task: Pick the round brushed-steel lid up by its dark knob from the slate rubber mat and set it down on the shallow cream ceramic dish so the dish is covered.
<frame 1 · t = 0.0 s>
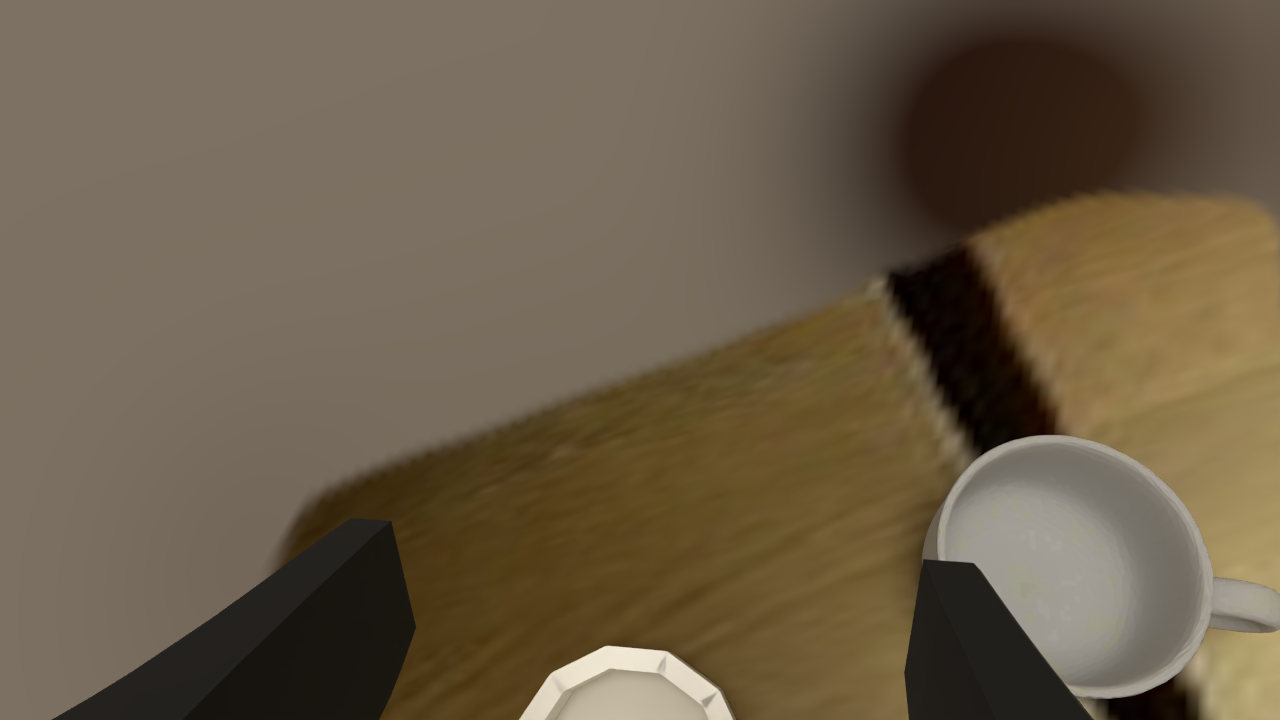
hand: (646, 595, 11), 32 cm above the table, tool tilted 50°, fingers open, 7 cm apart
teacup: (1047, 592, 40), on the table
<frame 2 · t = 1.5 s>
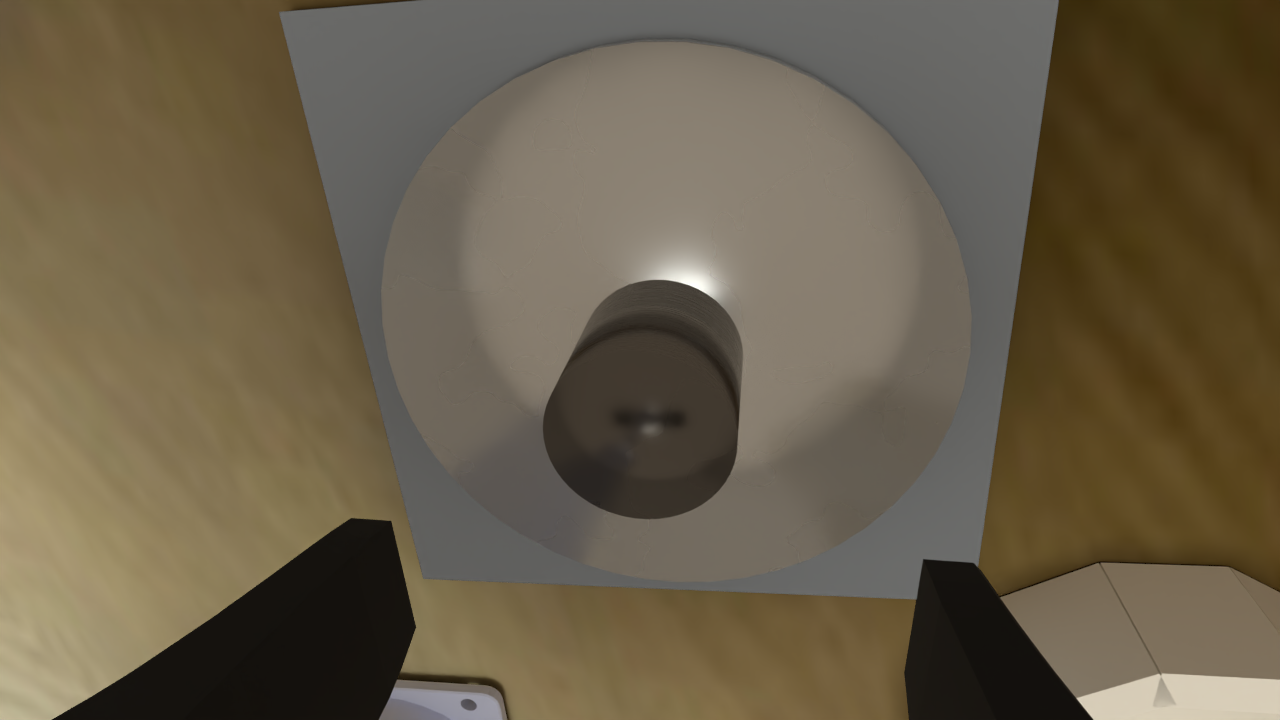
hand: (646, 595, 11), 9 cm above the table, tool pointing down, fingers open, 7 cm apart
slate mat: (668, 331, 19), on the table
steel lid: (665, 340, 18), resting on slate mat
cream dish: (1121, 718, 22), on the table
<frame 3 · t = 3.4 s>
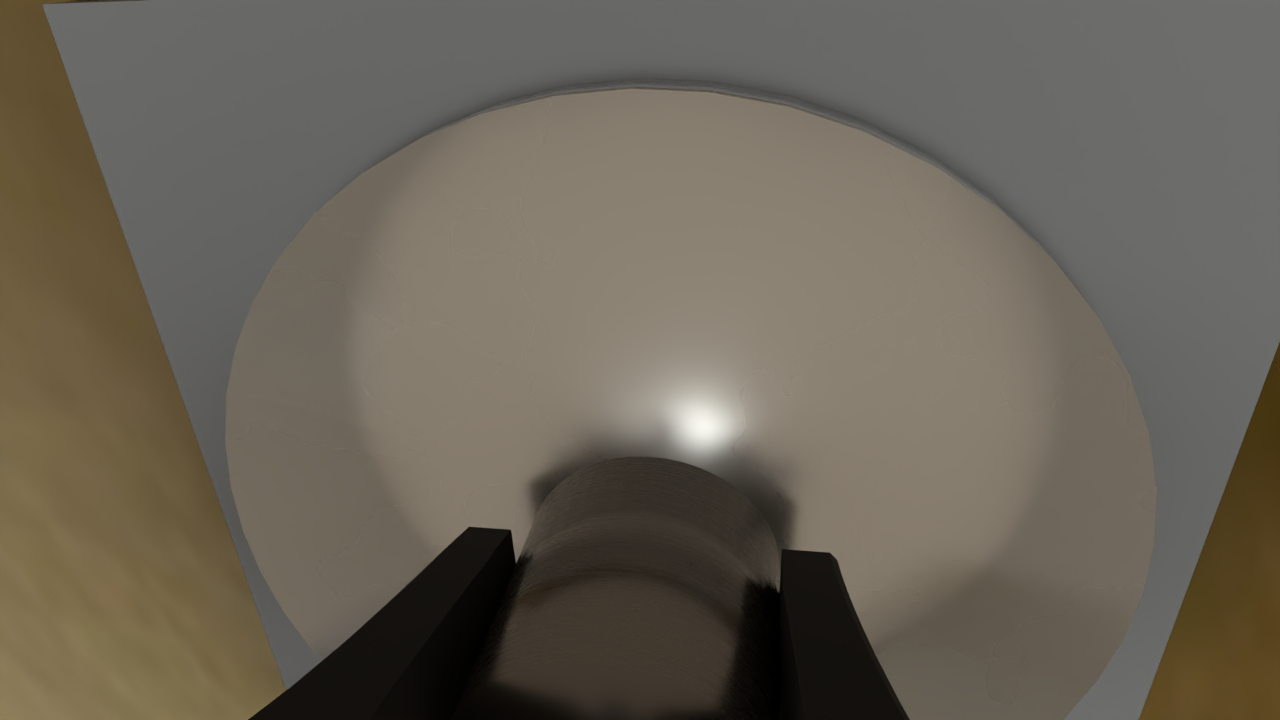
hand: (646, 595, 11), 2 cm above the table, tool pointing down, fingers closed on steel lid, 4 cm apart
slate mat: (664, 504, 13), on the table
steel lid: (660, 524, 12), resting on slate mat, touching gripper
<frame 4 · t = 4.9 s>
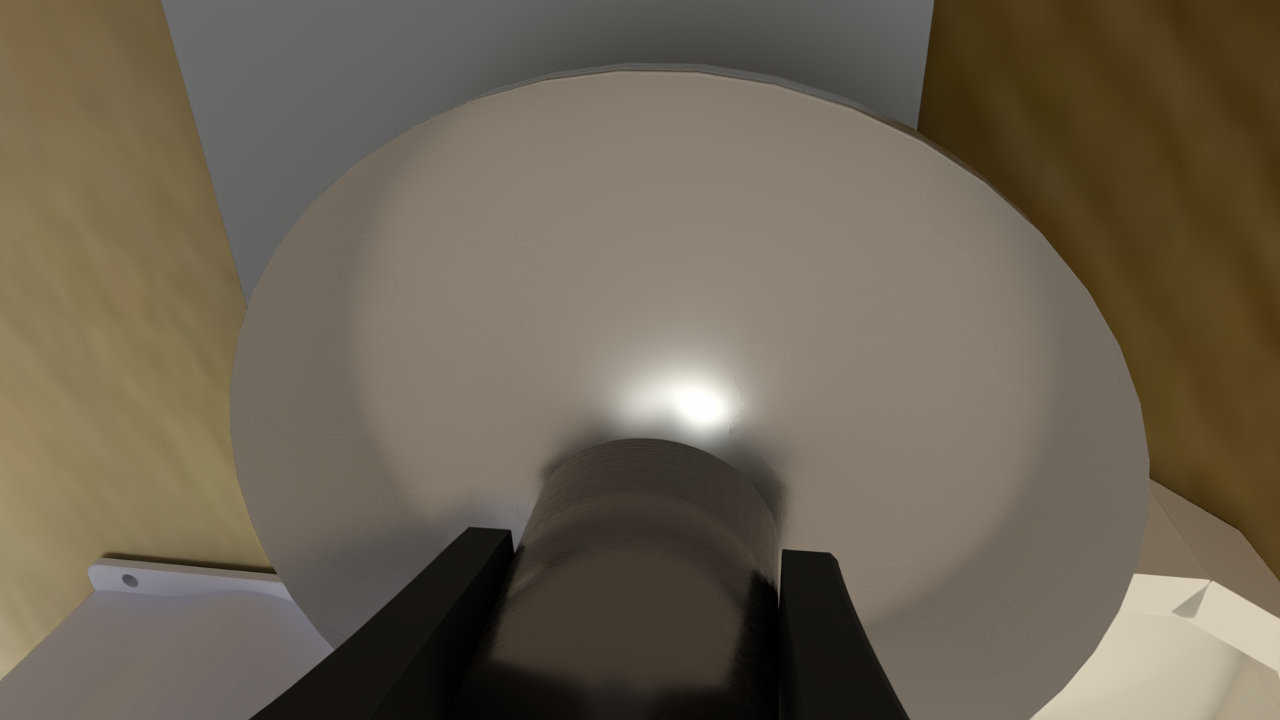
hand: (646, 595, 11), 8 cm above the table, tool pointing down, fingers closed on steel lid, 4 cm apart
slate mat: (543, 181, 17), on the table
steel lid: (660, 505, 12), point 7 cm above the table, touching gripper
cream dish: (1022, 638, 21), on the table
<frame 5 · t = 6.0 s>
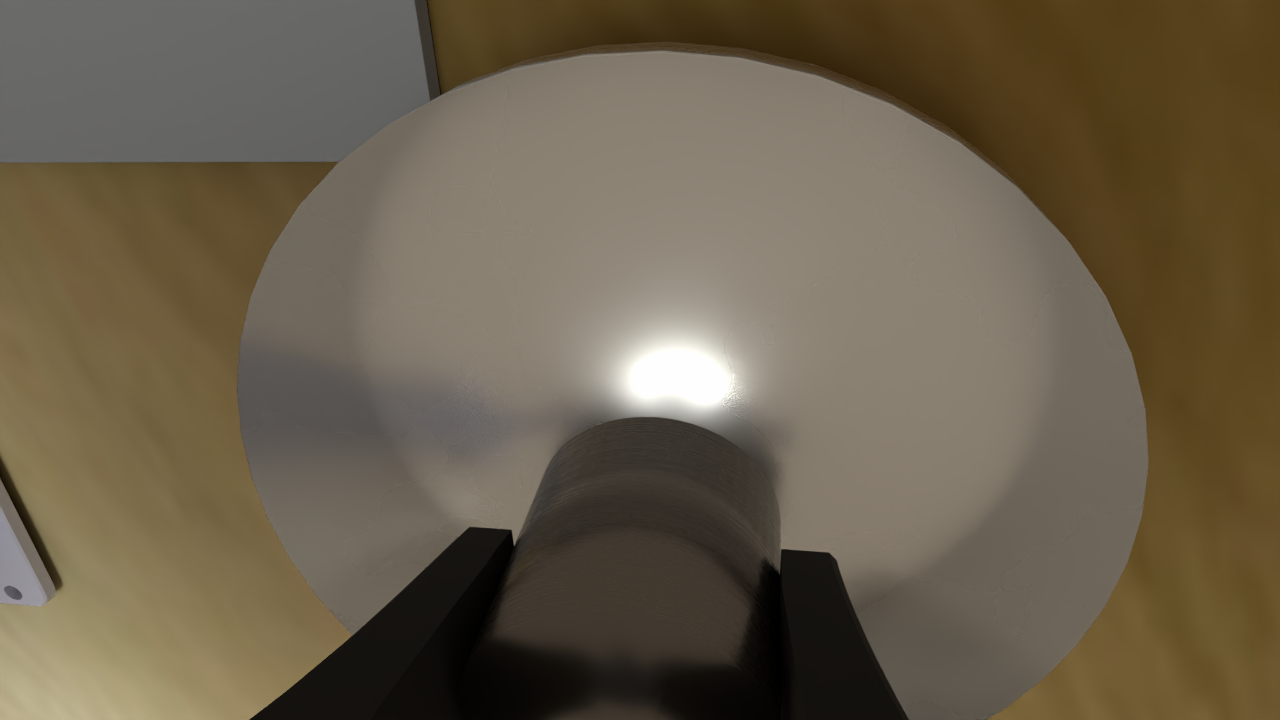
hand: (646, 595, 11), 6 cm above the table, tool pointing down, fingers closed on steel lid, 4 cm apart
steel lid: (664, 483, 12), point 4 cm above the table, touching gripper
when the fingers open (6 cm above the table, at t = 6.8 s): steel lid stays where it is, resting on cream dish.
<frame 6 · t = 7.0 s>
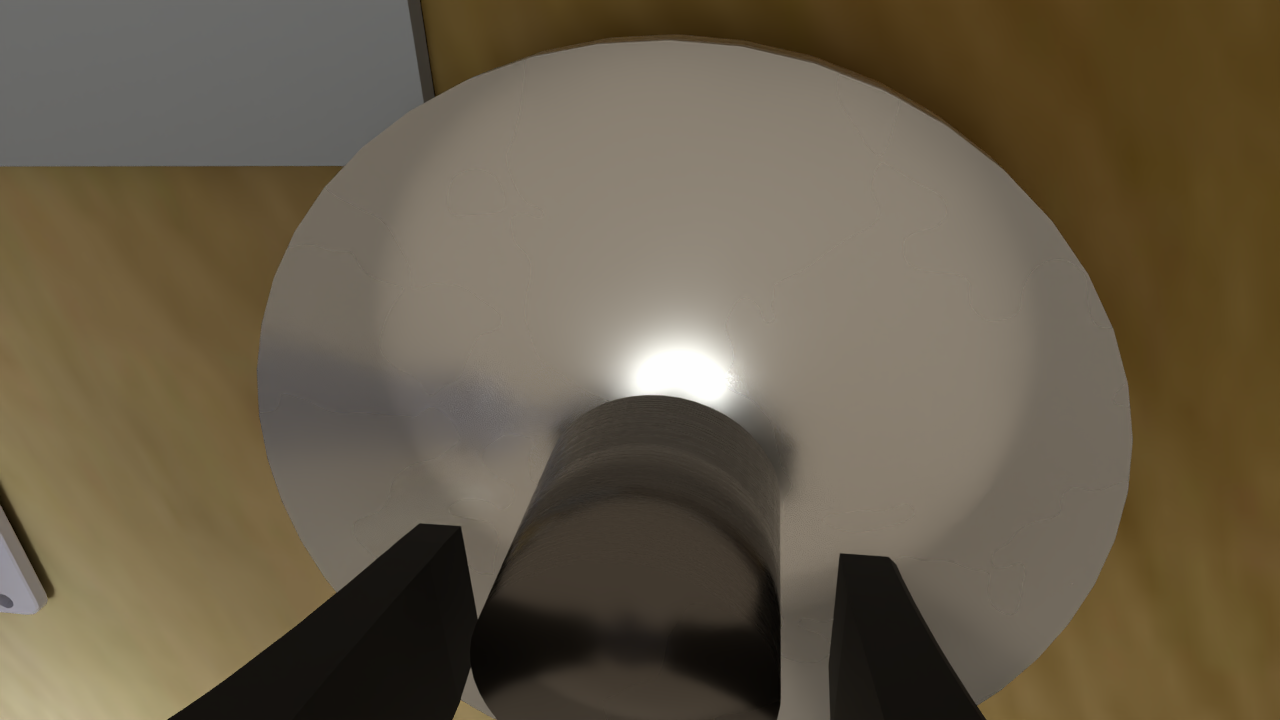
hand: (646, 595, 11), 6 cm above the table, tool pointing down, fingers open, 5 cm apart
steel lid: (667, 466, 13), point 3 cm above the table, touching cream dish
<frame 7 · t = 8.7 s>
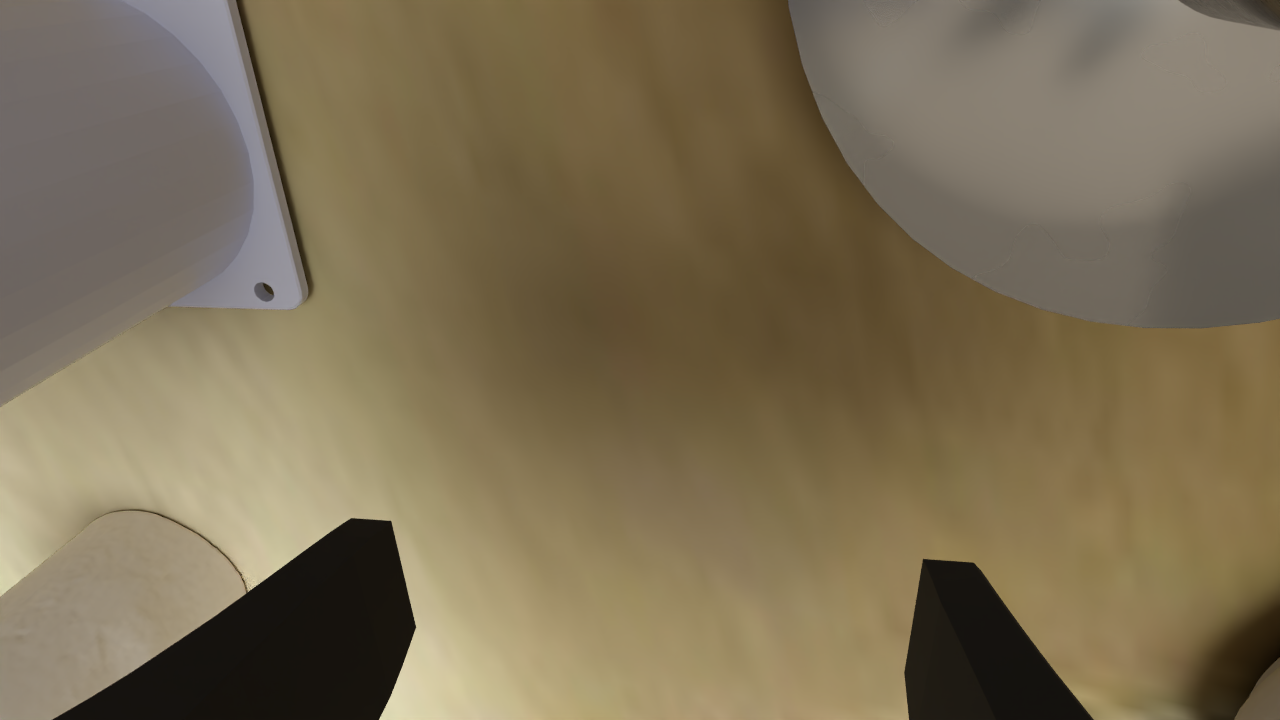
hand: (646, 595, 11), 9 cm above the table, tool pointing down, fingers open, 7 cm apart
roll: (168, 566, 27), on the table
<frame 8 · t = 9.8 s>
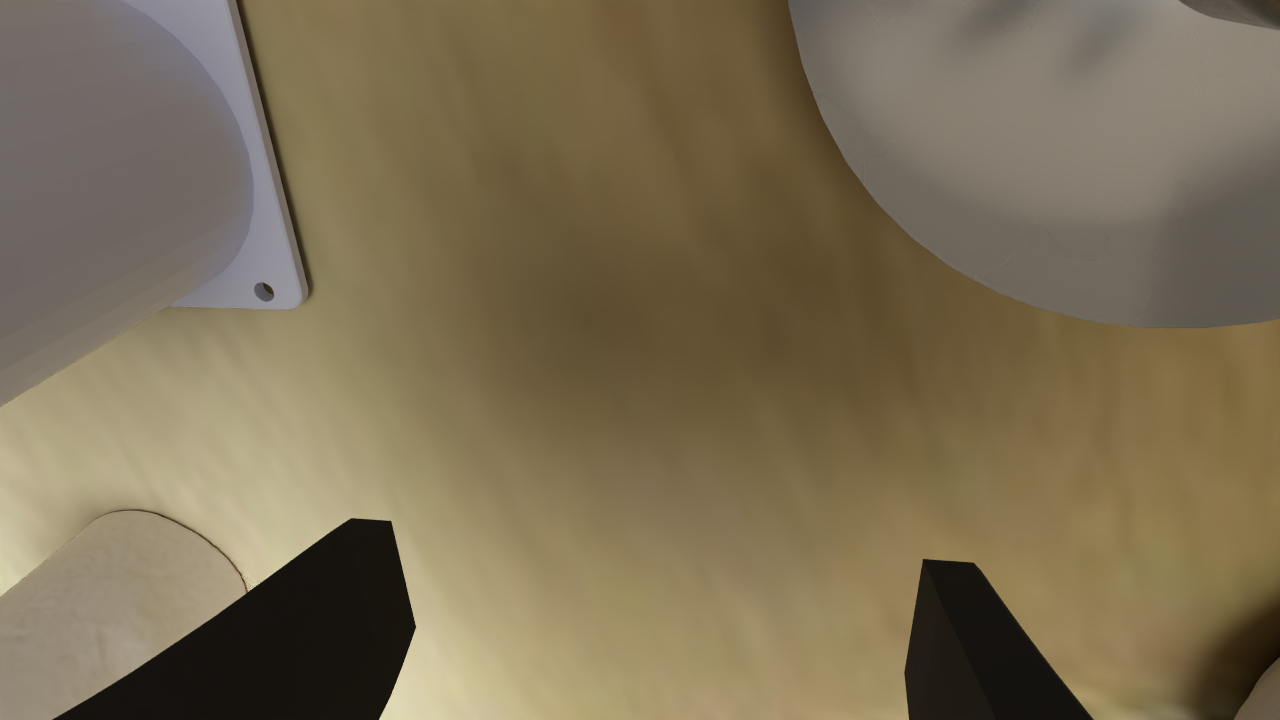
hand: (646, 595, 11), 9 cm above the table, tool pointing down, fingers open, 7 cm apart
roll: (168, 566, 27), on the table
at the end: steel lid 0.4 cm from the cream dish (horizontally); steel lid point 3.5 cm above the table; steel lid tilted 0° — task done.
